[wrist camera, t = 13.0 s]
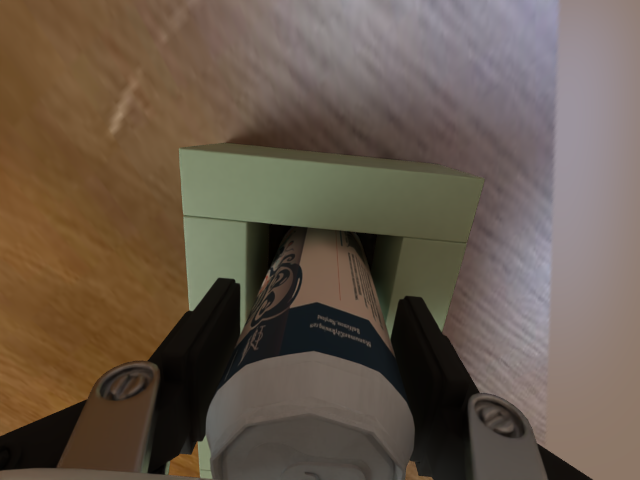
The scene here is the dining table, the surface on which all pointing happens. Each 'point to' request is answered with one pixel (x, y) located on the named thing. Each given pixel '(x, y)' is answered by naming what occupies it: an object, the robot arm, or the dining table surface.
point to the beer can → (312, 374)
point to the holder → (324, 220)
